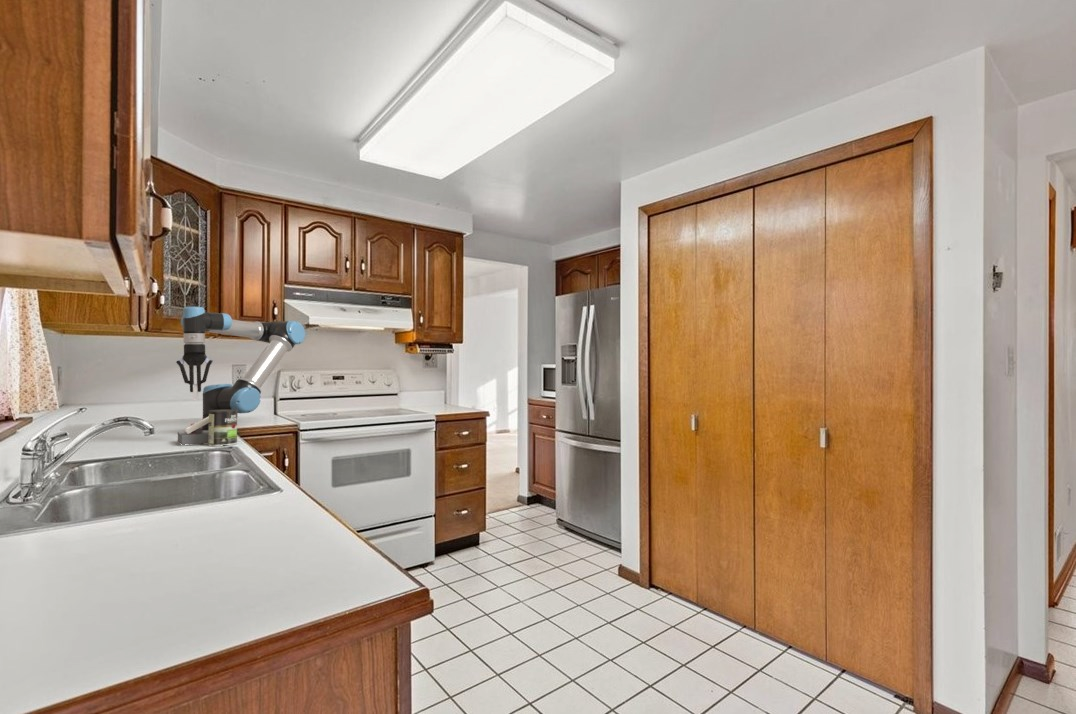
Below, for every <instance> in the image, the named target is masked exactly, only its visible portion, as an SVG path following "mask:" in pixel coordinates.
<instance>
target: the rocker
mask: <svg viewBox="0 0 1076 714" xmlns="http://www.w3.org/2000/svg"><path fill="white" fill-rule="evenodd" d="M202 419H203V418H202ZM202 419H200V420H199V421H197V422H195V424H194V423H192V424H193V425H191V424H190V425H188V426H187V427H186V428H184V429H183V430H184V432H186V433H187V434H189V433H191V432H193V431H195V430H196V429H198V428H200V427H202V426H204V425H206V424H208V423H209V416H208V417H206V418H204V419H203V420H202Z"/></svg>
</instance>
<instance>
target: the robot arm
mask: <svg viewBox="0 0 1076 714" xmlns="http://www.w3.org/2000/svg"><path fill="white" fill-rule="evenodd" d="M180 326H181V327H182V328H183V330H182V331H183V343H184V344H183V355H182V358H181V359H179V360H176V362H175V363H176V364H177V365H178V367H179V369H180V372H181V373H180V374H181V375H182V380H183V382H184V383H185V384H187V385H189V392H190V393H192V398H193V399H192V400H193V401H199V393H201V392H202V419H201V420H203V419H204V418H206V417H208V416H209V411H210V410H220V409H236V410H238V412H237V414H249V413H252V412H253V411H255V410H256V409H257V408H258V407H259V405H260V403H261V393H262V390H261V388H262V386H263V385H264V383H265V382H266V380H267V379H268V378H269V377H270V375H271V373H273V371H274V369H275V368H276V367H277V365H278V364H279V362H280V361H281V360H282V359H283V357H284V356H285V354H286V353H287V352H291V351H293V348H294V347H295V346H296V345H301V344H302V343H303V342H304V341H305V339H306V330H305V328H304V326H303V324H302V323H301V322H299V321H297V320H286V321H285V320H281V321H278V320H276V321H253V322H251V321H245V320H244V321H243V320H238V319H232V317H231V315H230V314H228V313H223V312H220V313H219V312H206V311H205V308H204V307H201V306H185V307H183V309H182V317H181V319H180ZM206 333H211V334H219V335H220V334H221V335H227V336H233V337H234V336H235V337H242V338H249V339H251V340H253V341H256V342H262V343H267V345H266V347H265V348H264V350H263V351H262V352H261V354H260V355H259V357H258V358H257V359H256V360H255V362H254V363H253V364H252V365H251V367H250V368H249V369H248V371H247V372H246V373H245V375H244V376H243V377H242V378H237V380H236V381H235V382H234V384H232V383H221V384H219V383H218V384H210V385H209V384H208V385H205V386H204V387H203V390H202V384H205V383H206V382H207V379H208V376H209V375H208V374H209V373H210V372H209V370H210V367H211V365H212V364H213V362H214V360H212V359H210V358H208V357H207V355H206V344H205V343H206ZM204 362H205V363H206V365H205V369H204V372H203V375H202V365H203V364H204ZM185 363H186V364H187V366H188V369H189V375H187V371H186V368H185V365H184V364H185ZM195 366H196V367H195ZM194 367H195V368H196V384H195V381H194V380H195V377H194V375H195V374H194V369H195V368H194ZM188 376H189V378H188ZM202 376H203V377H202ZM206 430H209V423H208V424H206V425H204V426H202V431H206Z"/></svg>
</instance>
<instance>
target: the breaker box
mask: <svg viewBox="0 0 1076 714" xmlns="http://www.w3.org/2000/svg"><path fill="white" fill-rule="evenodd" d="M208 441H209V430H206V431H202V429H201V428H199V429H196V430H195V433H189V434H187V433H186V432H185V431H179V432H177V443H178V442H179V443H181V444H182V445H185V444H198V445H201V444H200V443H208ZM179 443H178V444H179ZM181 444H180V445H181ZM182 445H181V446H182Z"/></svg>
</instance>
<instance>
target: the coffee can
mask: <svg viewBox="0 0 1076 714" xmlns="http://www.w3.org/2000/svg"><path fill="white" fill-rule="evenodd" d="M237 412H238V410H236V409H220V410H210V411H209V441H208V444H207V446H208V445H211V446H210V447H222V446H221V445H230V446H232V445H231V444H235V445H237V444H238V413H237Z"/></svg>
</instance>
